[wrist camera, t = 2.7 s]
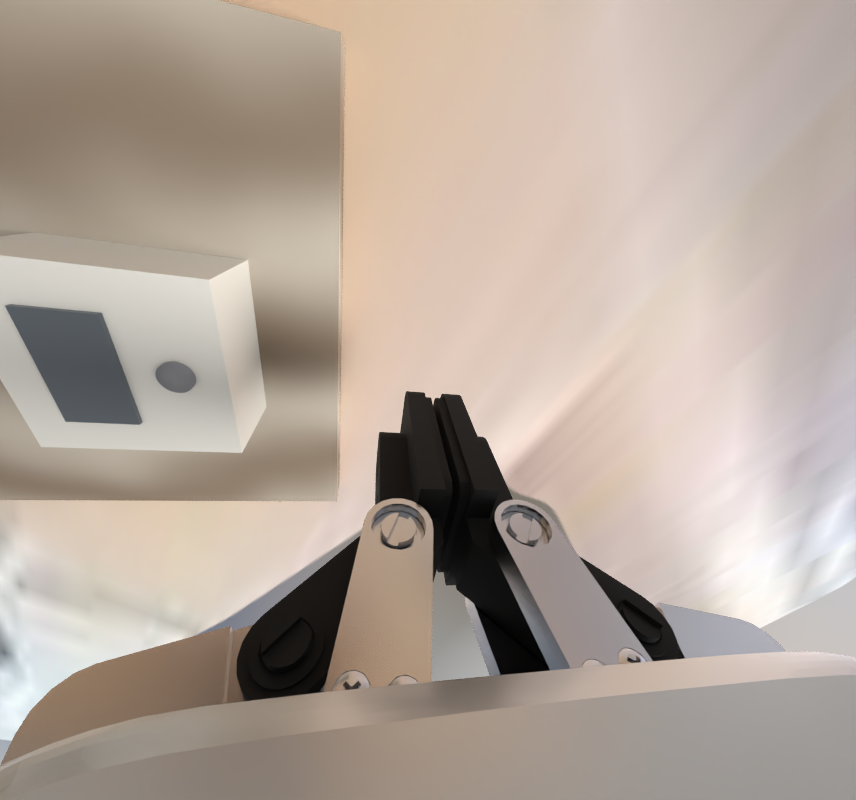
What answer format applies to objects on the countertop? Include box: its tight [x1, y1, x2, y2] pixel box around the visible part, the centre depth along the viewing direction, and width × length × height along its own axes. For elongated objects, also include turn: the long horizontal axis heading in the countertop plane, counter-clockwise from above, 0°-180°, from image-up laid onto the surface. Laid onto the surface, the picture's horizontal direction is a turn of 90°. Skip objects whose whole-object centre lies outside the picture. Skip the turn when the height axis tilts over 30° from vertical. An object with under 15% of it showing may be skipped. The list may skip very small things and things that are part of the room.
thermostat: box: [0, 232, 266, 453], centre depth 11 cm, size 6×6×3 cm
